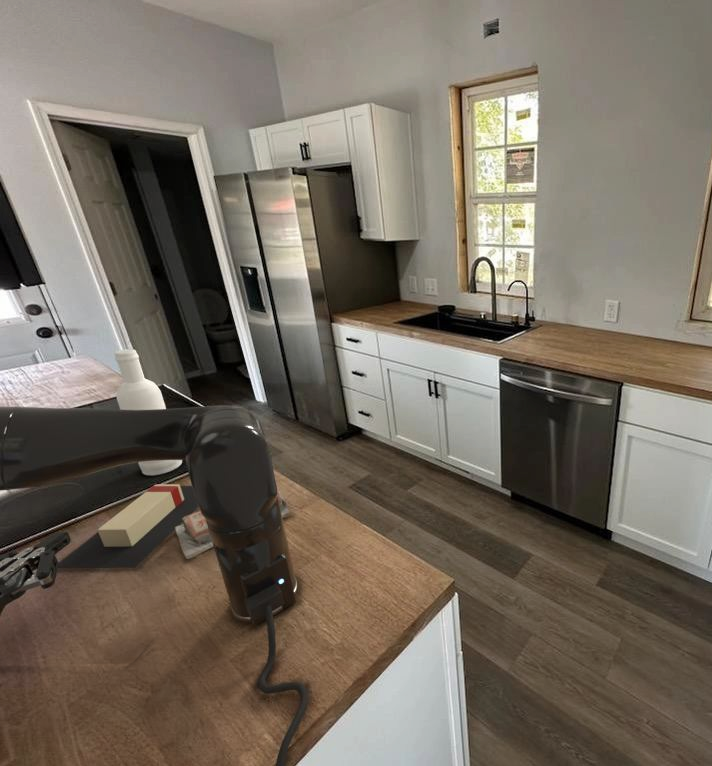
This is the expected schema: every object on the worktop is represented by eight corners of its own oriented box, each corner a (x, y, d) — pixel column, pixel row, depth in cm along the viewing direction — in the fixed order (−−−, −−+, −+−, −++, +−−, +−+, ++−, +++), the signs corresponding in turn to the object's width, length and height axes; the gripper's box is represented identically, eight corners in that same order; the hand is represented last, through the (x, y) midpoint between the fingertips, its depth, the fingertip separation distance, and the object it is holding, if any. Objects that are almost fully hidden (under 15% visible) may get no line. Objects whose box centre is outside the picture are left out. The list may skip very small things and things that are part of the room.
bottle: (188, 456, 106) (155, 345, 95) (174, 473, 99) (136, 355, 88) (151, 460, 104) (113, 347, 93) (134, 478, 97) (91, 357, 86)
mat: (136, 568, 72) (135, 567, 72) (52, 569, 72) (52, 568, 72) (220, 487, 95) (220, 486, 95) (157, 487, 94) (157, 486, 94)
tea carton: (125, 529, 75) (179, 483, 88) (96, 529, 75) (155, 484, 88) (132, 546, 77) (184, 499, 90) (104, 547, 76) (160, 499, 89)
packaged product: (271, 477, 91) (288, 497, 84) (275, 495, 93) (292, 516, 86) (169, 513, 79) (179, 540, 72) (176, 533, 81) (186, 562, 74)
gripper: (-30, 612, 50) (99, 516, 66) (-147, 614, 49) (12, 517, 65) (-3, 655, 52) (114, 553, 68) (-114, 657, 52) (31, 554, 68)
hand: (64, 535), depth 67 cm, fingers closed
